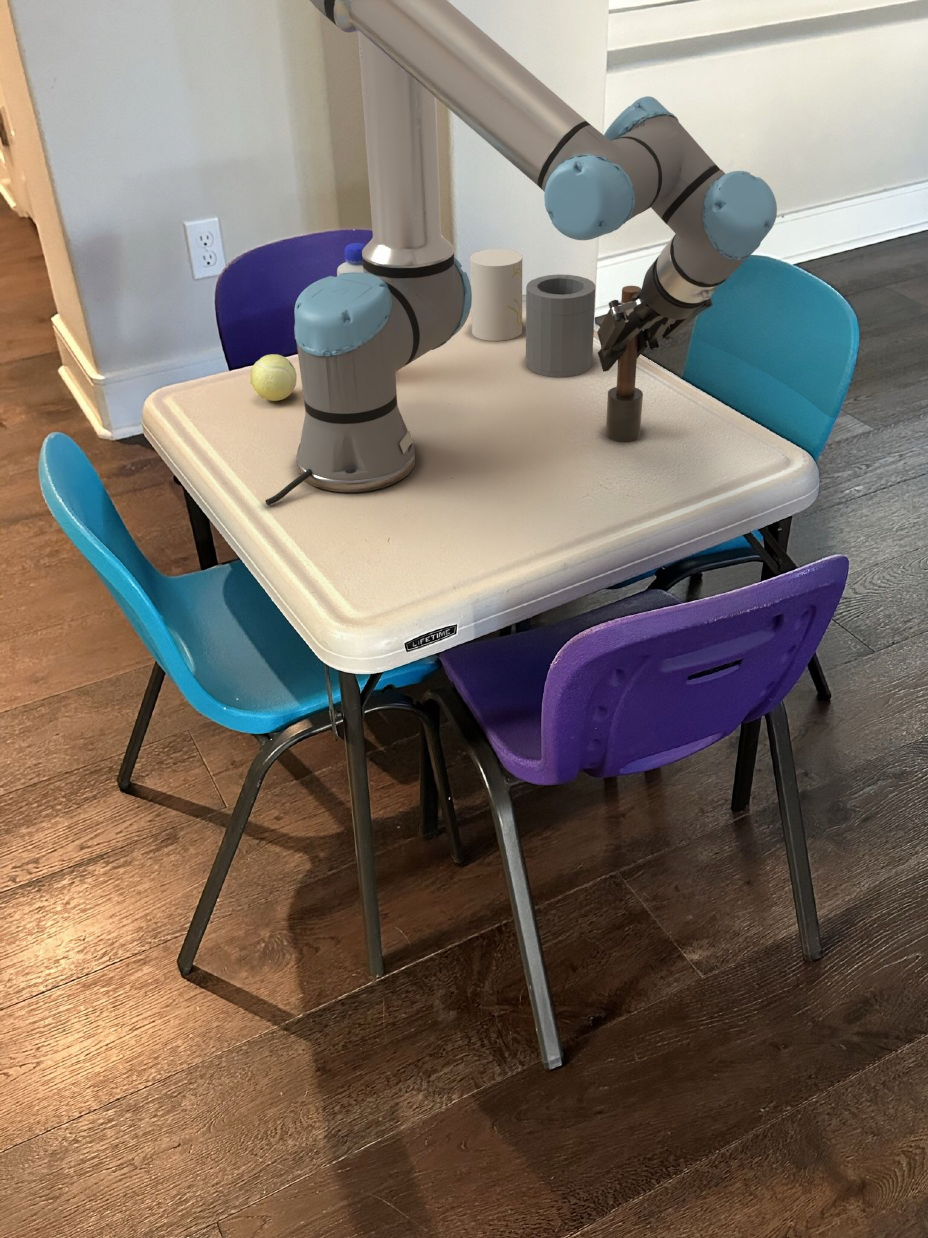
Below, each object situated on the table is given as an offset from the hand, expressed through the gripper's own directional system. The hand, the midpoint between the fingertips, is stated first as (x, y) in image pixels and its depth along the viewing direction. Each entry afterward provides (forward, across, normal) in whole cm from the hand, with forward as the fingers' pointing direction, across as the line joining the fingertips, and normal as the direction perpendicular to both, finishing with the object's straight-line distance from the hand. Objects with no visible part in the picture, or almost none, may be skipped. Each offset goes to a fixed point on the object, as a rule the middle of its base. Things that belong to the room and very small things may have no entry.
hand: (613, 359), depth 149 cm
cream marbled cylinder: (+33, -2, +20) cm, 38 cm away
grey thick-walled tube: (+21, +2, +8) cm, 23 cm away
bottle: (+26, -27, +13) cm, 40 cm away
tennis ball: (+25, -41, +11) cm, 49 cm away
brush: (+4, 0, -9) cm, 10 cm away
